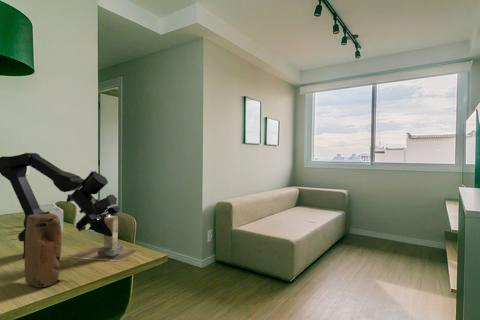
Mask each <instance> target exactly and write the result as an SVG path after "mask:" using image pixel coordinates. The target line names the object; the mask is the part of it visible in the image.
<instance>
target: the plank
mask: <svg viewBox="0 0 480 320" xmlns="http://www.w3.org/2000/svg"><path fill="white" fill-rule="evenodd" d="M99 248H100V247H97V246H96V247H95V246H89V247H87V248H85V249H82V250H81V251H79V252H77V253H75V254H72V255H71V256H69V257H68V259H77V260H93V261H105V262H106V261H107V262H119V263H121V262H123V261H124V260H126V259H127V258H129V257H130V256H132V255H133V254H135V253H136V252H137V251H138V249H130V248H129V249H127V248H126V249H125V248H123V250H122V251H121V252H119V253H118V254H116V255H115V256H107V255H98V249H99Z"/></svg>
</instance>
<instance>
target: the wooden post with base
mask: <svg viewBox="0 0 480 320" xmlns="http://www.w3.org/2000/svg"><path fill="white" fill-rule="evenodd" d="M105 224H106V225H107V227H108V228H109V229H110V231H111V232H112V234H113V236H112V237H109V236H106V235H104V234H103V235H104V236H103V238H104V239H103V246H101V247H98V248H99V249H98V255H107V256H115V255H116V254H118V253H119V252H121V251H122V250H123V249H124V248H123V247H124V245H123V244H118V237H119V236H118V234H119V216H118V215H115V216H108V217H105Z"/></svg>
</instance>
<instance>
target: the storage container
mask: <svg viewBox="0 0 480 320" xmlns="http://www.w3.org/2000/svg"><path fill="white" fill-rule="evenodd" d="M39 207H40V209H41V210H42V211H44V212H48V211H49V212H50V213H51V214H55V215H57V216H58V217H59V220H60V225H61V231H62V234H64V209H62V208H61V207H58V206H57V205H56V204H55V203H53V202H51V203H43V204H42V203H40V204H39Z"/></svg>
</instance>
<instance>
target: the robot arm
mask: <svg viewBox="0 0 480 320" xmlns="http://www.w3.org/2000/svg"><path fill="white" fill-rule="evenodd" d="M28 167H31V168H33V169H34V170H36V171H37V172H39V173H40V174H42V175H44V176H45V177H47V178H49V179H50V180H51V181H52V183H53V185H54V186H55V188H57V189H58V190H59V191H60V192H62V193H69V192H72V193H70V194H67V195H66V196H67V198H66V203H71V202H74V203H75V204H76V205H77V206H78V207H79V209H80V210H79V214H84V216H82V217H81V218H80V219H79V220H78V221H77V222H76V224H75V229H76V230H77V231H78V232H82V231H84V230H86V229H88V231H93V232H96V233H99V234H102V235H106V236H109V237H112V236H113V234H112V232H111V231H110V229H109V228H108V227H107V225H106V224H105V217H108V216H117V214H118V213H119V212H121V209H120V207H119V206H118V205H117V200H118V198H117V197H116V195H114V194H112V193H111V194H109V195H107V196H106V197H105V198H102V199H100V198H95V196H94V195H98V193H99V192H100V191H101V190H102V189H103V188H104V187H106V185H108V183H109V181H108V179H107V177H106V176H104V175H103V174H100V173H98V171H96V170H95V171H91V172H89V174H88V175H87V176H86V177H85V178H82V177H81V176H80V175H77V174H75V173H73V172H69V171H65V170H62V169H61V168H59V167H57V166H56V164H55V165H54V164H53V163H51V162H50V161H48V160H47V159H45V158H44V157H42V156H40V154H39V153H36V152H25V153H22V154H18V155H17V154H16V155H12V156H11V155H10V156H9V155H7V156H4V155H3V156H0V175H1V176H2V177H4V178H5V179H6V180H8V181H9V182H10V184H11V186H12V189H13V191H14V193H15V195H16V198H17V199H18V202H19V205H20V207H21V209H22V211H23V213H24V220H23V226H24V229H23V230H22V231H20V233H18V235H17V238H18V241H19V242H23V254H22V259H25V235H26V223H27V217H28V216H29V215H34V214H47V213H50V212H49V211H48V212H44V211H42V210H41V209H40V207H39V205H40V204H39V202H38V199H37V198H36V196H35V194H34V191H33V190H32V187H31V185H30V182H29V181H28V178H27V171H28ZM87 225H89V227H88V228H86V226H87Z"/></svg>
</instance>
